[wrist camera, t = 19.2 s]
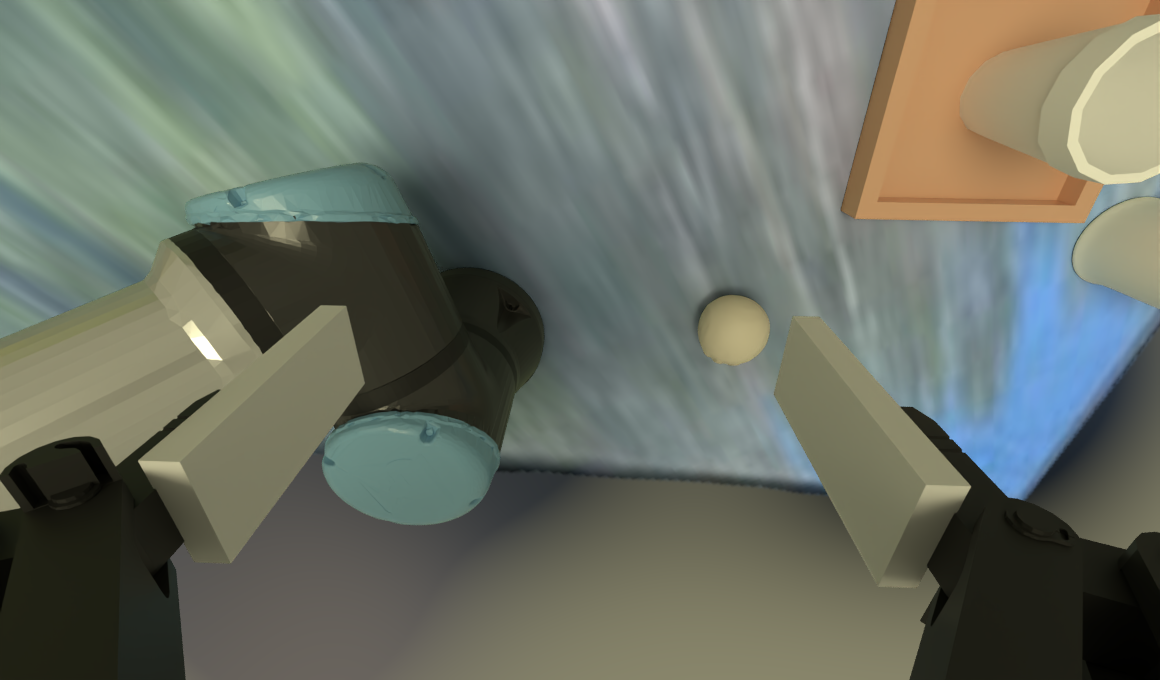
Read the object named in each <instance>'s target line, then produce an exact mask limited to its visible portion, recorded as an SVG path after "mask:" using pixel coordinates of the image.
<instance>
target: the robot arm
mask: <svg viewBox="0 0 1160 680" xmlns="http://www.w3.org/2000/svg"><path fill="white" fill-rule="evenodd" d="M185 211H186V220H187V222H188V223H189V224H190V225H193V226H195V228H193V229H192V230H189V231H187V232H184V233H181V234H179V235H176V236H173V237H171V238H168V239H165V240H163V241H161V242H160V244H159V247H158V250H157V253H156V256H155V259H154V262H153V265H152V268H151V271H150V272H149V274H148V275H147V276H146V277H145V279H144V280H143V281H141V282H138V283H136V284H133V285H131V286H128V287H126V288H124V289H121V290H119V291H116V292H114V293H111V294H109V295H106V296H104V297H101V298H99V299H97V300H94V301H92V302H89V303H87V304H84V305H82V306H79V307H77V308H75V309H72V310H70V311H67V312H65V313H62V314H60V315H57V316H55V317H52V318H50V319H48V320H45V321H43V322H40V323H38V324H35V325H33V326H30V327H28V328H25V329H23V330H21V331H18V332H16V333H13V334H11V335H8V336H6V337H3V338H1V339H0V680H186V679H185V668H184V656H183V644H182V633H181V621H180V610H179V599H178V587H177V576H176V569H175V567H174V565H173V563H172V561H171V560H170V557H171V556H172V555H173V554H174V553H175V552H176V550H177V549H178V548H179V547H180V546H181V545H182V543H184V545H185V546H186V548H187V550H188V551H189V554H190V555H191V557H192V559H193V561H194V562H203V563H232V561H233V560H234V559H235V557H236V556H237V555H238V553H239V552H240V551H241V549H242V548H243V547H244V545H245V544H246V543H247V541H248V540H249V538H250V537H251V536H252V534H253V533H254V532H255V530H256V529H257V528H258V526H259V525H260V524H261V522H262V521H263V520H264V518H265V517H266V516H267V514H268V513H269V511H270V510H271V509H272V508H273V506H274V505H275V503H276V502H277V501H278V499H279V498H280V497H281V495H282V494H283V493H284V491H285V490H286V488H287V487H288V486H289V485H290V483H291V482H292V481H293V479H294V478H295V476H296V475H297V474H298V472H299V471H300V470H301V469H302V467H303V466H304V465H305V463H306V462H307V460H308V459H309V458H310V456H311V455H312V454H313V452H314V451H315V450H316V448H317V447H318V446H319V444H320V443H321V442H322V440H323V439H324V438H325V436H326V435H327V434H328V432H329V431H330V430H331V428H332V427H333V426H334V428H335V430H334V431H333V432H332V433H331V434H330V436H329V437H328V439H327V440H326V443H325V455H324V457H323V459H322V468H323V473H324V476H325V478H326V480H327V482H328V484H329V486H330V487H331V488H332V489H333V491H334V492H335V493H336V494H337V495H338V496H339V497H340V498H341V499H342V500H343V501H344V502H346V503H347V504H349V505H351V506H352V507H353V508H355V509H357V510H359V511H360V512H363V513H364V514H367V515H370V516H372V517H374V518H377V519H380V520H388V521H391V522H394V523H398V524H406V525H430V524H437V523H442V522H446V521H450V520H453V519H455V518H458V517H460V516H462V515H464V514H466V513H467V512H469V511H470V510H472V509H473V508H474V507H475V506H476V505H478V504H479V502H480V501H481V500H482V499H483V498H484V496H485V494H486V493H487V491H488V489H489V486H490V484H491V481H492V478H493V476H494V473H495V472H496V470H497V469H498V467H499V464H500V458H501V457H500V456H499V455H500V451H501V447H502V443H503V439H504V435H505V431H506V427H507V423H508V419H509V415H510V411H511V407H512V403H513V399H514V394H515V393H516V392H517V391H518V390H519V389H520V388H521V387H522V386H523V385H524V384H525V383H526V382H527V381H528V380H529V379H530V378H531V377H532V375H533V374H534V372H535V370H536V369H537V367H538V364H539V362H540V359H541V355H542V350H543V345H544V327H543V322H542V319H541V316H540V313H539V311H538V309H537V307H536V305H535V304H534V302H533V301H532V299H531V298H530V297H529V296H528V294H527V293H526V292H525V291H524V290H523V289H521V288H520V287H519V286H518V285H517V284H515V283H514V282H512V281H511V280H509V279H508V278H506V277H504V276H502V275H500V274H497V273H495V272H492V271H488V270H484V269H479V268H456V269H451V270H447V271H444V272H441V273H440V272H439V270H438V268H437V265H436V263H435V261H434V259H433V257H432V255H431V253H430V250H429V248H428V246H427V244H426V242H425V240H424V238H423V235H422V233H421V231H420V229H419V227H418V224H419V221H418V220H417V218H416V217H414V216H412V214H411V213H410V211H409V209H408V207H407V205H406V203H405V201H404V199H403V198H402V196H401V194H400V192H399V190H398V188H397V186H396V184H395V183H394V181H393V179H392V178H391V177H390V175H389V174H388V173H387V172H385V171H384V170H383V169H381V168H380V167H378V166H375V165H372V164H368V163H353V164H346V165H340V166H334V167H328V168H323V169H318V170H312V171H307V172H302V173H297V174H293V175H288V176H283V177H279V178H274V179H270V180H265V181H261V182H257V183H253V184H249V185H246V186H244V187H237V188H233V189H229V190H226V191H220V192H215V193H211V194H207V195H203V196H200V197H197V198H194V199H191V200H190V201H188V202H187V203H186V205H185ZM774 396H775V398H776V399H777V401H778V403H779V405H780V407H781V409H782V410H783V412H784V414H785V416H786V418H787V420H788V422H789V423H790V425H791V427H792V429H793V431H794V433H795V434H796V436H797V438H798V440H799V442H800V444H801V446H802V447H803V449H804V451H805V453H806V455H807V457H808V458H809V460H810V462H811V464H812V466H813V468H814V470H815V471H816V473H817V475H818V477H819V479H820V481H821V482H822V484H823V486H824V488H825V490H826V492H827V494H828V495H829V497H830V499H831V501H832V503H833V505H834V506H835V508H836V510H837V512H838V514H839V516H840V517H841V519H842V521H843V523H844V525H845V527H846V529H847V531H848V532H849V534H850V536H851V538H852V540H853V542H854V543H855V545H856V547H857V549H858V551H859V553H860V554H861V556H862V558H863V560H864V562H865V564H866V565H867V567H868V569H869V571H870V573H871V575H872V577H873V579H874V580H875V582H876V584H877V586H878V587H903V588H917V586H918V585H919V583H920V581H921V579H922V577H923V575H924V574H925V572H926V570H927V568H929V570H930V571H931V573H932V574H933V576H934V577H935V579H936V580H937V582H938V583H939V585H940V587H939V588H938V590H937V592H936V594H935V595H934V597H933V599H932V601H931V602H930V604H929V606H928V608H927V609H926V611H925V613H924V615H923V616H922V618H921V620H920V621H921V622H923V623H924V624H926V625H925V628H924V632H923V635H922V639H921V642H920V646H919V649H918V652H917V656H916V659H915V663H914V666H913V670H912V673H911V676H910V680H1160V533H1158V532H1148V533H1141V534H1140V535H1139V536H1138V537H1137V538H1136V539H1135V540H1134V541H1133V543H1132V544H1131V545H1130V546H1129V547H1128V549H1127V550H1126V549H1122V548H1117V547H1114V546H1110V545H1106V544H1101V543H1098V542H1093V541H1090V540H1086V539H1082V538H1079V537H1078V535H1077V534H1076V533H1075V532H1074V531H1073V530H1072V528H1071V527H1070V526H1069V525H1068V524H1066V523H1065V522H1064V521H1062V520H1061V519H1060V518H1058V517H1057V516H1055V515H1054V514H1053V513H1051V512H1049V511H1047V510H1045V509H1043V508H1041V507H1039V506H1037V505H1035V504H1032V503H1029V502H1026V501H1023V500H1019V499H1015V498H1008V497H1007V496H1006V495H1005V494H1004V493H1003V492H1002V491H1001V490H1000V489H999V488H998V487H997V486H996V485H995V484H994V483H993V481H992V480H991V479H990V478H989V477H988V476H987V475H986V474H985V473H984V472H983V471H982V470H981V469H980V468H979V467H978V466H977V465H976V464H975V463H974V462H973V461H972V460H971V458H970V457H969V456H968V455H967V454H966V453H962V449H961V448H960V447H959V446H958V445H957V444H956V443H955V442H954V441H953V440H950V439H949V436H948V434H947V433H946V432H945V431H944V430H943V429H942V428H941V427H940V426H939V425H938V424H937V423H936V422H935V421H934V420H932V419H931V418H929V417H928V416H926V415H924V414H923V413H921V412H920V411H918V410H917V409H915V408H913V407H900V406H899V405H898V404H897V403H896V402H895V401H894V400H893V398H892V397H891V396H890V395H889V394H888V393H887V392H886V391H885V390H884V388H883V387H882V386H881V385H880V384H879V383H878V382H877V381H876V380H875V378H874V377H873V376H872V375H871V374H870V373H869V372H868V371H867V369H866V368H865V367H864V366H863V365H862V364H861V363H860V362H859V361H858V359H857V358H856V357H855V356H854V355H853V354H852V353H851V352H850V350H849V349H848V348H847V347H846V346H845V345H844V344H843V343H842V342H841V340H840V339H839V338H838V337H837V336H836V335H835V334H834V333H833V331H832V330H831V329H830V328H829V327H828V326H827V325H826V324H825V323H824V321H823V320H822V319H821V318H820V317H805V316H793V317H792V321H791V325H790V330H789V334H788V338H787V342H786V346H785V350H784V354H783V358H782V363H781V367H780V371H779V375H778V379H777V383H776V387H775V391H774Z"/></svg>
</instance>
